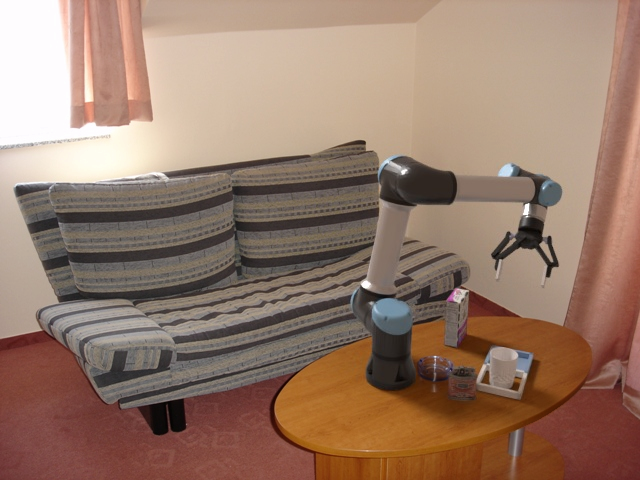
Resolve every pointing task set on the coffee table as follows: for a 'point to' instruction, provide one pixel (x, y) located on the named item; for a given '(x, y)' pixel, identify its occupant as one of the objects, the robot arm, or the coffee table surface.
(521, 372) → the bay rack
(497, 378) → the white cup
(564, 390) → the coffee table surface
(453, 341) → the candy bar box
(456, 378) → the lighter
